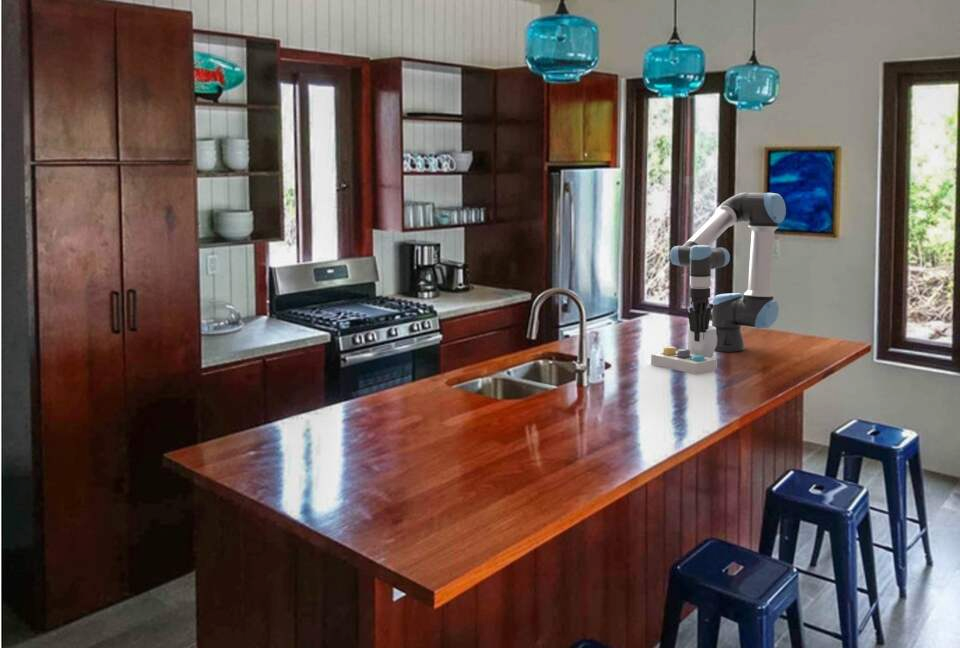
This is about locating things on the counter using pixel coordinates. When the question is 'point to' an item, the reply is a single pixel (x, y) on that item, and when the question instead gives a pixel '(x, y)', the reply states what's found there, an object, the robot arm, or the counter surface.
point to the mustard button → (669, 350)
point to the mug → (708, 342)
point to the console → (683, 363)
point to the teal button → (698, 358)
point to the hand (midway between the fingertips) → (698, 349)
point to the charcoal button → (683, 353)
